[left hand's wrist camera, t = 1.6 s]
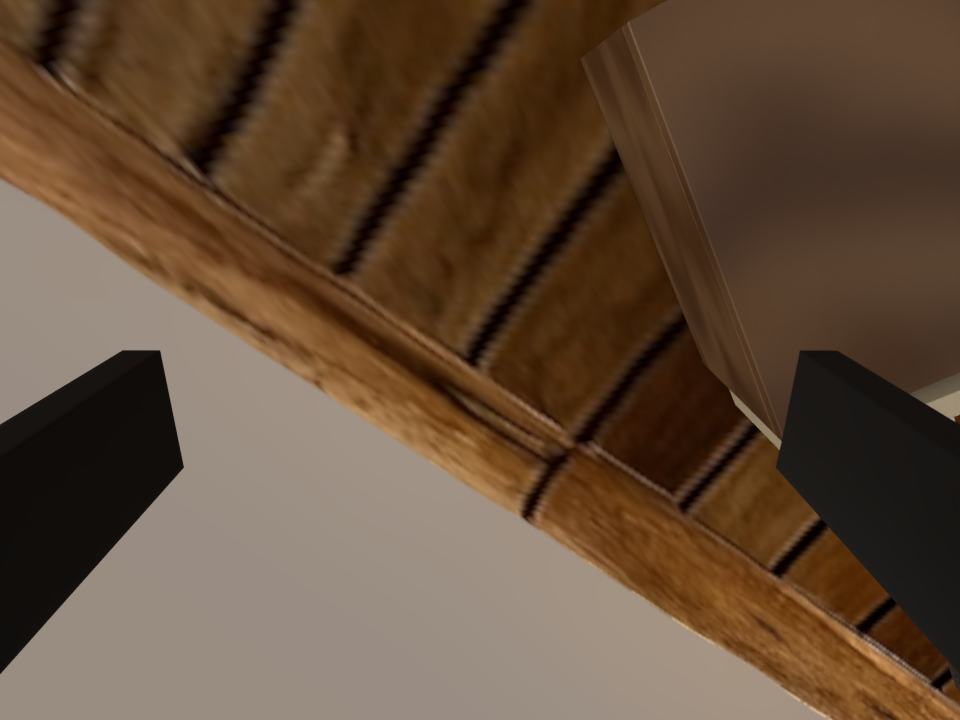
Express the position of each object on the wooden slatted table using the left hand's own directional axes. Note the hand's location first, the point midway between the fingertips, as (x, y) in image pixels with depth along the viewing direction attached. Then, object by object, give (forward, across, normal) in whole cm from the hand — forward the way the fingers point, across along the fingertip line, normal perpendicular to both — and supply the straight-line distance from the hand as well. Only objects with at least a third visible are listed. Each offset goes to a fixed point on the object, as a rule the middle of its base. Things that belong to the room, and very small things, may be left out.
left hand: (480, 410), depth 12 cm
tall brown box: (+21, +14, +3) cm, 25 cm away
